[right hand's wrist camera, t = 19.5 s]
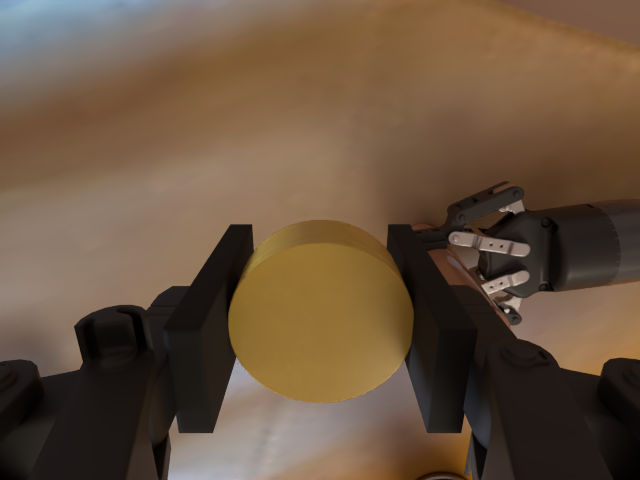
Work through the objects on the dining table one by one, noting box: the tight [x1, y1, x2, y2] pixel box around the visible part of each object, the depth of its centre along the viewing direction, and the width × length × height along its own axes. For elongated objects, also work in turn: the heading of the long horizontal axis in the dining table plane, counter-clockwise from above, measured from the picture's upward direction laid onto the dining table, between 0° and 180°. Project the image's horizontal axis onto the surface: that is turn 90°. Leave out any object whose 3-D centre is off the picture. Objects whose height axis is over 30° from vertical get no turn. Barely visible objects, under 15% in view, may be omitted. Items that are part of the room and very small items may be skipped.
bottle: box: [412, 224, 511, 330], centre depth 34 cm, size 4×4×19 cm
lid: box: [228, 220, 414, 403], centre depth 11 cm, size 5×5×2 cm
